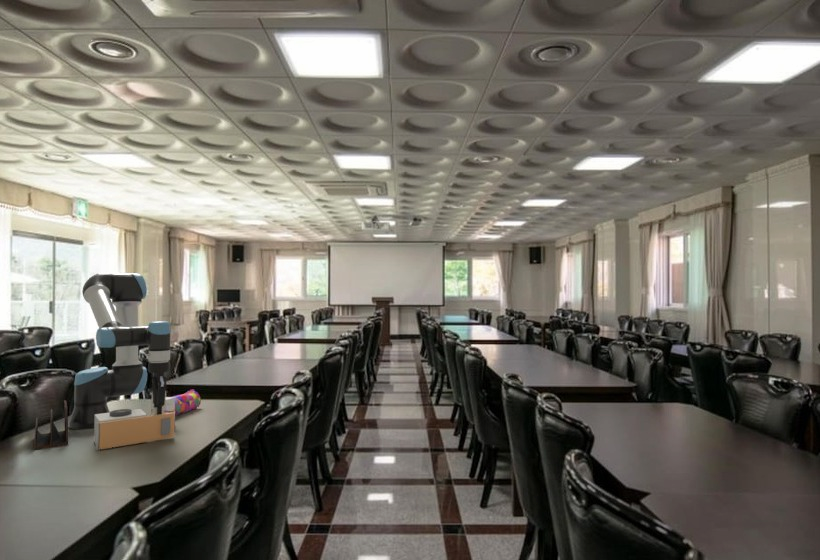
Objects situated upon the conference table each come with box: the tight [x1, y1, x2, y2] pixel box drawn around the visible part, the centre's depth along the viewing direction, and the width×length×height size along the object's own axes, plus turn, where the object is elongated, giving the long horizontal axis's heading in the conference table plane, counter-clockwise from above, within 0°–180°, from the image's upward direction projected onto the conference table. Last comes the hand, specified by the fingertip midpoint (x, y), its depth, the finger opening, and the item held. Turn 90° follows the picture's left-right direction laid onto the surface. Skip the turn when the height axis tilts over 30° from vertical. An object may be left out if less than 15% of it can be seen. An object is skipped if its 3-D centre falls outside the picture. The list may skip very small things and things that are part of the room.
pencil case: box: [171, 389, 201, 416], centre depth 229 cm, size 22×9×9 cm, turn 175°
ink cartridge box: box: [150, 390, 176, 425], centre depth 204 cm, size 9×5×15 cm, turn 68°
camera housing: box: [93, 408, 148, 450], centre depth 182 cm, size 13×15×11 cm
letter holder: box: [33, 400, 69, 451], centre depth 184 cm, size 10×20×14 cm, turn 36°
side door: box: [95, 412, 175, 451], centre depth 178 cm, size 2×25×9 cm, turn 129°
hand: (158, 423), depth 189 cm, fingers closed
